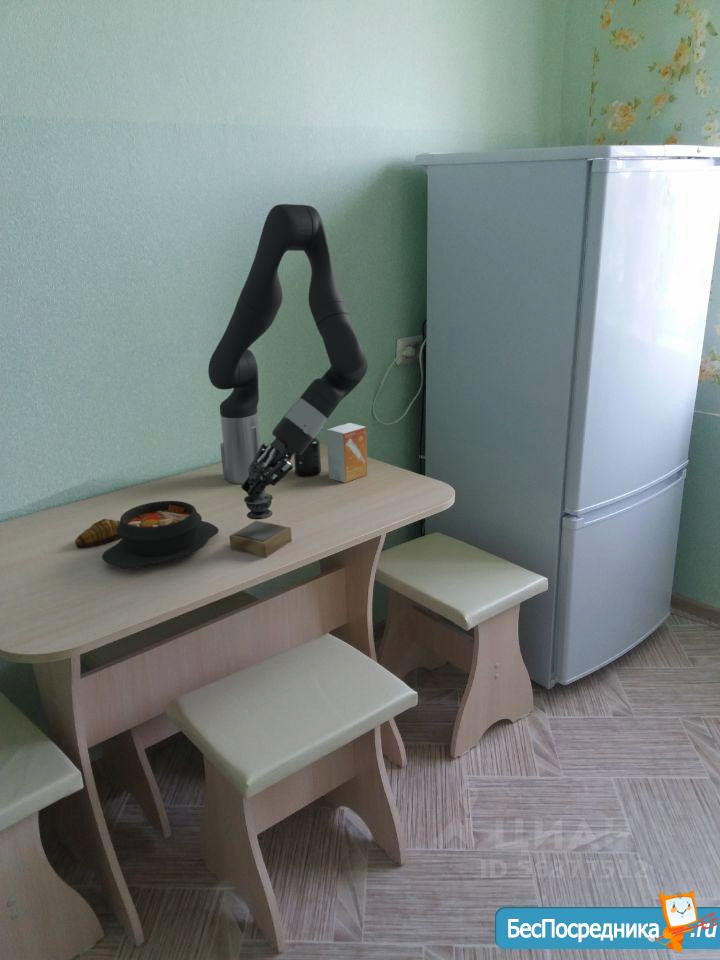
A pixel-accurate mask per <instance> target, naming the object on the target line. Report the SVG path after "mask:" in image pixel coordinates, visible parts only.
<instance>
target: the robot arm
mask: <svg viewBox="0 0 720 960" xmlns="http://www.w3.org/2000/svg"><path fill="white" fill-rule="evenodd" d="M322 219H323V218H322V217H321V215H320V212H319V211H318V210H317V209H316V208H315V207H313V206H312V205H308V204H307V205H305V204H287V203H282V204H277V205H274V206H273V207H272V208H271V209H270V210H269V212H268V214H267V216H266V218H265V220H264V225H263V227H262V231H261V234H260V238H259V242H258V245H257V249H256V252H255V255H254V259H253V262H252V264H251V267H250V271H249V273H248V274H247V275H248V276H246V277H247V278H246V281H245V283H244V284H243V287H242V289H241V290H240V295H239V297H238V299H237V302H236V304H235V307H234V310H233V312H232V315H231V317H230V320H229V322H228V324H227V326H226V328H225V331H224V333H223V335H222V337H221V338H220V341H219V342H218V344H217V345H216V347H215V350H213V352H212V355H211V357H210V359H209V362H208V363H209V364H208V369H207V370H208V378H209V381H210V383H211V384H212V386H213V387H214V388H216V389H218V390H224V391H225V390H232V389H233V390H232V391H231V393H230V394H229V396H227V398H225V399H224V400H223V401H221V402H220V405H219V412H220V421H221V422H220V425H221V433H222V442H221V443H220V446H219V447H220V456H221V463H222V472H223V473H222V474H223V475H222V476H223V480H226V481H227V482H229V483H231V484H239V485H240V484H241V486H240V488H241V489H242V490H243V491H244V492H246V494H247V496H248V495H249V496H250V497H251V498H253V499H257V498H258V497H259V495H260V494H261V493H262V491H263V490H264V489H265V490H266V487H267V486H268V487H269V486H272V487H274V486H275V485H276V486H277V484H278V483H279V482H280V481H281V480H282V479H283V478H284V477H286V476H287V474H289V473H290V472H291V470H293V469H294V465H293V464H292V463H291V462H290V461H291V460H292V458H293V457H294V453H295V452H296V453H297V454H298V455H301V454H302V453H303V452H304V451H305V449H306V448H307V447H308V446H309V444H310V443H311V442H312V440H313V439H314V438H315V437H316V436H317V435H318V434H319V433H320V431H321V430H322V428H323V427H324V425H325V423H326V422H327V420H328V419H329V418H330V416H331V415H332V414H333V412H334V411H335V410H336V409H337V407H338V405H339V404H340V402H341V401H342V400H343V399H345V398H346V397H347V396H348V395H349V394H350V393H351V392H352V391H353V390H354V389H355V388H356V387H357V386H358V385H359V384H360V382H361V381H362V380H363V379H364V378H365V375H366V373H367V371H368V368H369V367H368V366H369V365H368V364H369V363H368V359H367V357H366V354H365V351H364V350H363V347H362V344H361V343H360V340H359V339H358V335H357V334H356V332H355V330H354V327H353V323H352V319H351V317H350V314H349V311H348V309H347V307H346V304H345V301H344V299H343V297H342V294H341V291H340V289H339V285H338V282H337V278H336V275H335V274H336V273H335V269H334V266H333V260H332V257H331V251H330V247H329V242H328V237H327V233H326V228H325V226H324V223H323V220H322ZM287 251H289V252H290V251H291V252H292V251H294V252H296V251H302V252H304V253H305V255H306V257H307V259H308V261H309V264H310V269H311V275H310V276H311V277H310V284H309V290H308V305H309V309H310V313H311V315H312V318H313V321H314V322H315V326H316V328H317V330H318V331H317V332H318V333H319V334H320V336H321V338H322V341H323V344H324V349H325V351H326V354H327V357H328V360H329V363H330V365H331V366H330V367H329V368H328V370H327V371H326V372H325V373H324V374H323V375H322V376H321V377H320V378H315V379H314V380H313V381H311V383H310V384H309V385H308V387H307V388H306V389H305V390H304V392H303V393H301V394H302V395H300V397H299V398H298V399H297V401H295V403H293V404H292V405H291V407H290V408H289V409H288V410H287V412H286V413H285V414H284V416H282V418H281V419H280V421H279V422H278V424H276V426H275V427H274V429H273V430H272V432H271V434H272V436H273V437H274V438H275V439H274V440H273V441H272V442H271V443H269V445H268V444H266V443H262V444H261V438H260V427H259V425H260V424H259V415H258V414H259V413H258V405H259V400H260V399H259V398H260V393H259V369H258V367H259V366H258V364H257V359H256V357H255V355H254V353H253V352H252V350H250V349H249V348H250V347H251V346H252V345H253V344H254V343H255V342H256V341H257V340H259V339H260V338H261V337H262V336H263V335H264V334H265V333H266V332H267V331H268V329H270V327H272V325H273V323H274V321H275V319H276V317H277V315H278V313H279V310H280V309H281V308H280V307H281V306H282V302H283V290H282V285H281V282H280V278H279V274H278V273H279V271H278V270H279V267H280V264H281V261H282V259H283V257H284V255H285V254H286V252H287ZM254 459H255V460H256V462H257V463H259V464H261V465H262V469H263V472H262V473H261V475H260V477H259V479H257V480H256V482H255V483H254V484H253V486H252V487H251V488H250V484H249V483H248V480H249V470H248V467H249V465H250V464H252V463H254V462H253V460H254Z"/></svg>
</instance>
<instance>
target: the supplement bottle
mask: <svg viewBox="0 0 720 960" xmlns="http://www.w3.org/2000/svg"><path fill="white" fill-rule="evenodd" d="M321 457H322V456H321V443H320V440H319V439H318V438H317V437H316V436H315V438H314V439H313V440H312V442H311V443H310V444H309V446H308V447H307V448H306V449H305V451H304V452H303V453H302V454H301V455H298V454H297V453H296V452H295V453H294V454H293V460H294V461H293V463H294V473H295V475H296V476H298V477H302V478H313V477H316V476H319V475H320V474H321V473H322V462H321V459H322V458H321Z"/></svg>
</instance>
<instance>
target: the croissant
mask: <svg viewBox="0 0 720 960" xmlns="http://www.w3.org/2000/svg"><path fill="white" fill-rule="evenodd" d="M119 523H120V520H115V519H114V520H113V519H108V518H103V519H101V520H98V521H96V522H95V523H93V524H92V525H91V526H90V527H89V528H86V529H85V530H84V531H83V532H81V534H79V535H78V536H77V538H75V541H74V544H75V546H76V548H79V549H80V548H87V547H93V546H95V547H96V546H97V545H102V544H105V543H111V542H113V541H117V540H119V539H120V538H121V539H122V536H121V535H119V534H118V533H117V530H116V529H117V526H118V525H119Z"/></svg>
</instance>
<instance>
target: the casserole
mask: <svg viewBox="0 0 720 960" xmlns="http://www.w3.org/2000/svg"><path fill="white" fill-rule="evenodd" d="M202 518H203V517H202V516H201V514H200V513H199V512H198V511H197V509H196V507H195V506H194V505H193V504H191V503H188V502H185V501H181V500H180V501H178V500H161V501H160V500H159V501H152V502H149V503H144V504H140V505H137V506H135V507H132V508H130V509H128V510H126V511H125V512H124V513H123V514H122V515H121V517H120V520H119V521H120V523H119V525H118V526H117V529H116V530H117V533H118V534H119V535H121V536H122V537H121V539H120V540H119V541H118V542H117V543H116V544H115V545H113V546H112V547H110V548H108V549H106V550H105V551H104V552H103V553H102V555H101V558H102V560H103V562H104V563H106V564H108V565H109V566H113V567H115V568H121V569H138V568H144V567H147V566H150V565H154V564H158V563H163V562H170V561H175V560H178V559H182V558H184V557H186V556H190V555H192V554H194V553H196V552H197V551H199V550H200V549H202V548H203V547H204V546H205V545H206V544H207V543H208V541H210V540H211V539H212V538H213V537H214V536H216V535H217V534H219V528H218V527H217V526H216V525H214V524H212V523H210V522H207V521H203V519H202Z"/></svg>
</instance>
